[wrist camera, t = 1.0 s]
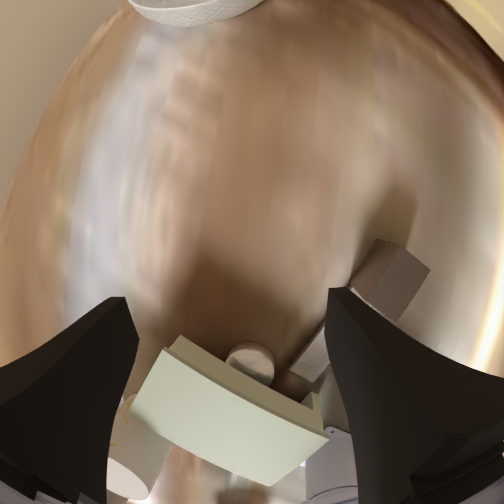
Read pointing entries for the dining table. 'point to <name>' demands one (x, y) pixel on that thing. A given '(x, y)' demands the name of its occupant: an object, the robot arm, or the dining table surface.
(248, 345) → the token
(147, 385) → the pale green rectangular block
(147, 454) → the beige cylinder
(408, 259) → the dark grey long block
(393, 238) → the dining table surface
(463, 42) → the dining table surface
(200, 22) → the cereal bowl
